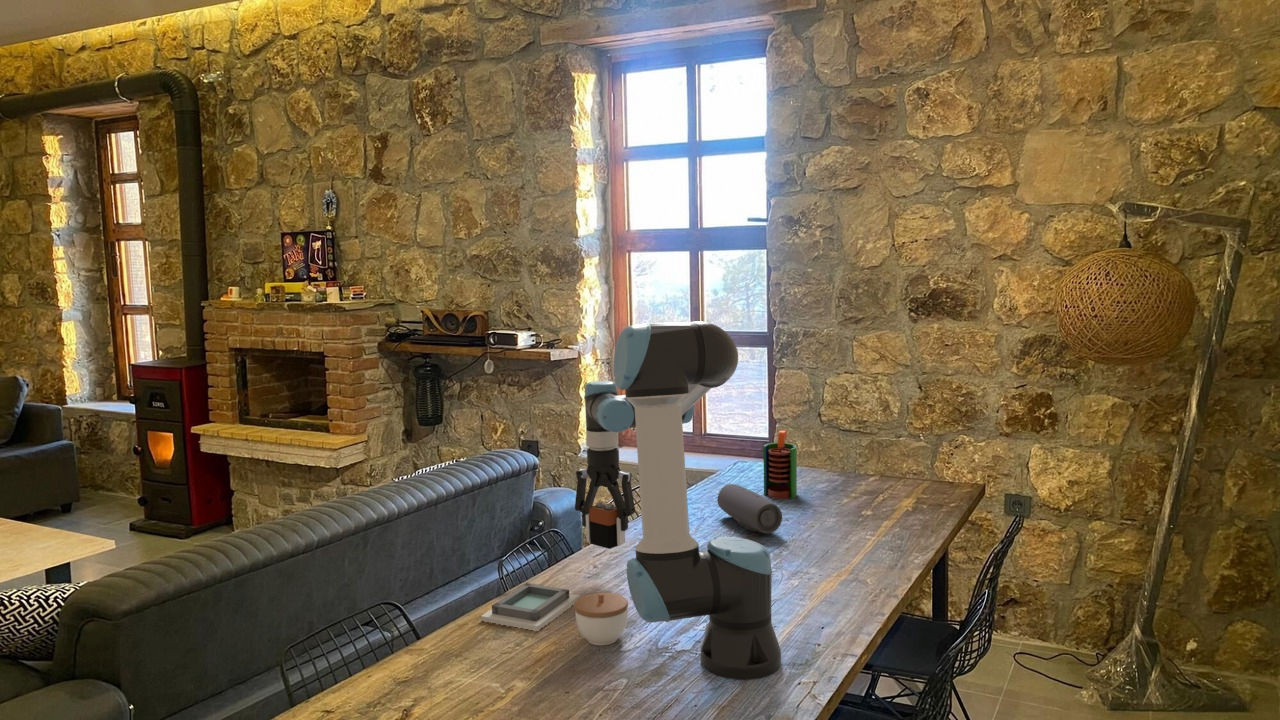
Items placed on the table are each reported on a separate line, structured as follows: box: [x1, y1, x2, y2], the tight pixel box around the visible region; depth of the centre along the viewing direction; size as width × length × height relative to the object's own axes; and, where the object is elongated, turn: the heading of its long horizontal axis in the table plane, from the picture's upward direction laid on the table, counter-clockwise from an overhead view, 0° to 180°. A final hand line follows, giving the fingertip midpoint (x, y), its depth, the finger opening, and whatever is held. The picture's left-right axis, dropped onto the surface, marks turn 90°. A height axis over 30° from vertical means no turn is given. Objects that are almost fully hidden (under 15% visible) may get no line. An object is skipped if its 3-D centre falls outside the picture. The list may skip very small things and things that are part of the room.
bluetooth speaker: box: [717, 483, 783, 534], centre depth 255 cm, size 23×9×10 cm, turn 22°
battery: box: [589, 501, 620, 550], centre depth 216 cm, size 4×7×10 cm, turn 47°
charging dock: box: [480, 582, 580, 632], centre depth 199 cm, size 18×14×3 cm
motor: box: [763, 430, 798, 500], centre depth 285 cm, size 10×9×20 cm
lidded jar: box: [573, 592, 629, 647], centre depth 184 cm, size 11×11×9 cm
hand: (605, 541), depth 217 cm, fingers closed on battery, 7 cm apart
